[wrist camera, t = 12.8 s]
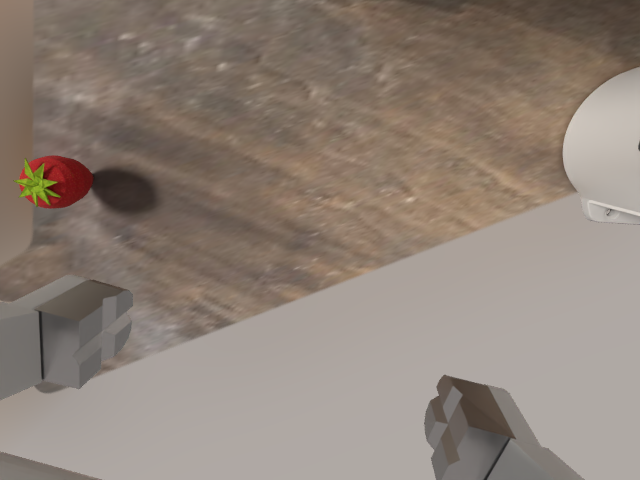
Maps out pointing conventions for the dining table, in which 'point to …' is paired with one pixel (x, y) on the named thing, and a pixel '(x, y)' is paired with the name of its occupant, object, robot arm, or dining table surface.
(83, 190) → the strawberry
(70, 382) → the robot arm
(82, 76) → the dining table surface
